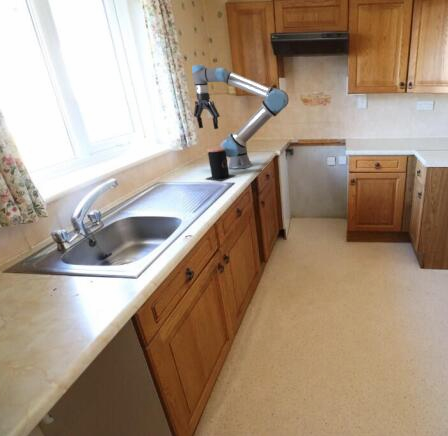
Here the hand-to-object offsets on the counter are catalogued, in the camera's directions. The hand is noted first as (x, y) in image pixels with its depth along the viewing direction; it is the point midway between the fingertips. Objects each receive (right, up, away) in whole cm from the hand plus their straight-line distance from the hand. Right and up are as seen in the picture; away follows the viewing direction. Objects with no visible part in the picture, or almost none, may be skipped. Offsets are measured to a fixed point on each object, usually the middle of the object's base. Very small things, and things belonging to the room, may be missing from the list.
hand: (208, 128), depth 206 cm
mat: (+8, -32, -1) cm, 33 cm away
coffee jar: (+8, -31, -1) cm, 33 cm away
